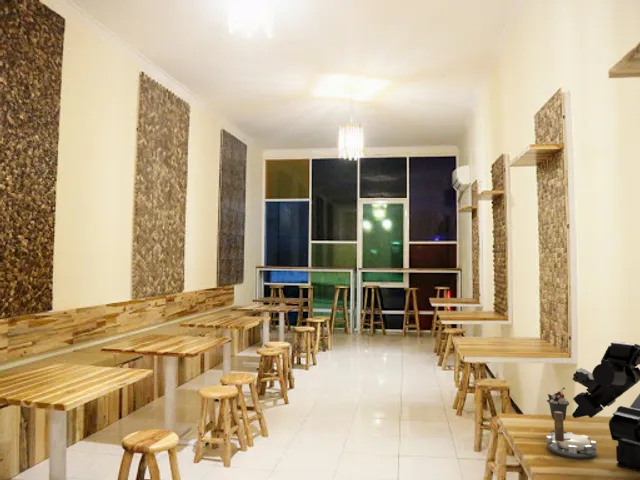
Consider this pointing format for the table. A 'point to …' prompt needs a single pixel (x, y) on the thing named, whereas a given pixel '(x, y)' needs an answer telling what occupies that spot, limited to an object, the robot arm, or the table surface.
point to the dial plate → (574, 456)
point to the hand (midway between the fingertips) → (573, 416)
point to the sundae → (558, 404)
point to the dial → (567, 435)
